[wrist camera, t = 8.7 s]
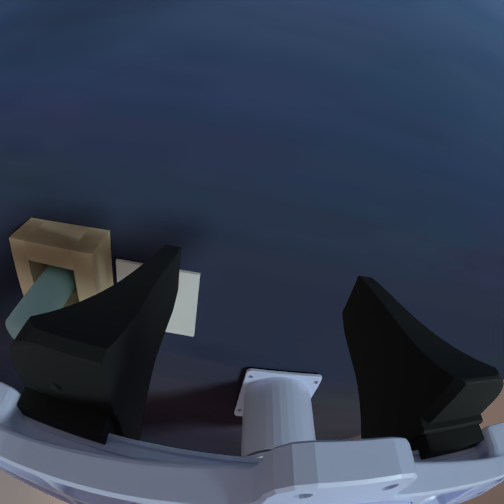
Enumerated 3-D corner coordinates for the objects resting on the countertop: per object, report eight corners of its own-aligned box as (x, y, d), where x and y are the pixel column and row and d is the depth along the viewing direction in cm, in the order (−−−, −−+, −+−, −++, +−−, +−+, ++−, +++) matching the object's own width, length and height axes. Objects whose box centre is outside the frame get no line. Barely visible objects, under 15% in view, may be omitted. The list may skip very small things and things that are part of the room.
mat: (194, 334, 29) (193, 336, 28) (122, 320, 28) (121, 322, 28) (200, 273, 25) (199, 275, 25) (116, 258, 24) (115, 260, 24)
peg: (90, 260, 25) (41, 334, 17) (81, 283, 26) (37, 355, 18) (62, 242, 24) (6, 310, 16) (55, 266, 25) (5, 333, 17)
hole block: (123, 361, 31) (114, 386, 28) (60, 344, 31) (49, 367, 28) (109, 230, 23) (91, 254, 20) (31, 217, 23) (8, 237, 20)
